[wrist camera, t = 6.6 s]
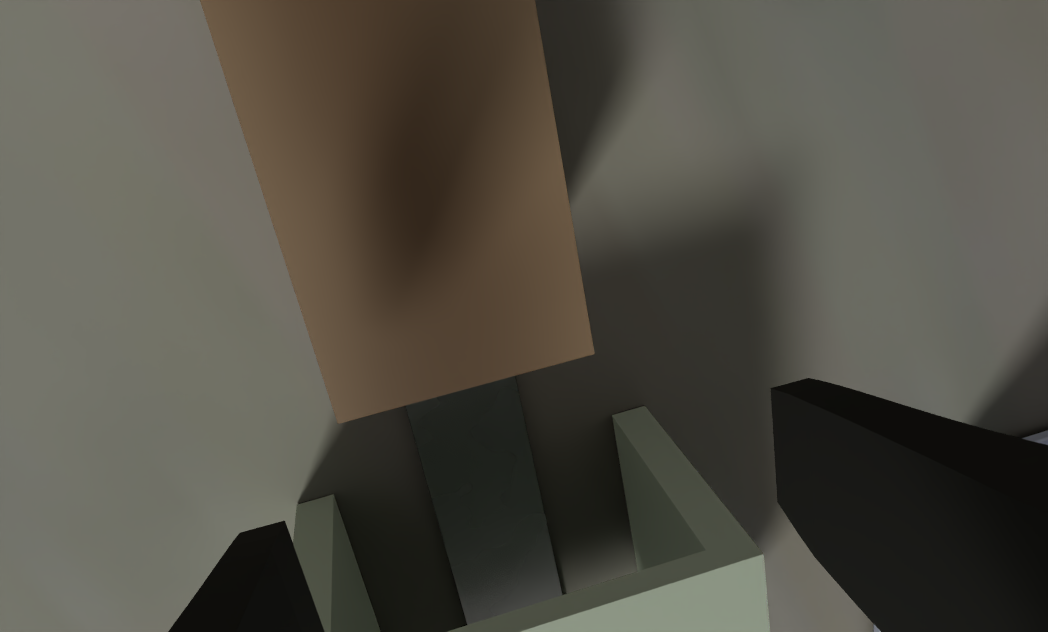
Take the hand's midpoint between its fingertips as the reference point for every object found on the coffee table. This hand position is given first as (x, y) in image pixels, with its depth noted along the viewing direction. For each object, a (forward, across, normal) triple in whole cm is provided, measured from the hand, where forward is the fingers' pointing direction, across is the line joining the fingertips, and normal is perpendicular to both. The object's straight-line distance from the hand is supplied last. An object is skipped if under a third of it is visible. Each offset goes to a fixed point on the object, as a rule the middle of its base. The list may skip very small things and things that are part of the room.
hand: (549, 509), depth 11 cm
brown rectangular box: (+9, +1, -6) cm, 11 cm away
